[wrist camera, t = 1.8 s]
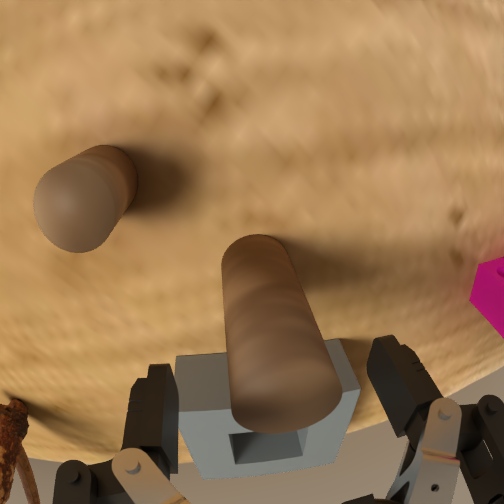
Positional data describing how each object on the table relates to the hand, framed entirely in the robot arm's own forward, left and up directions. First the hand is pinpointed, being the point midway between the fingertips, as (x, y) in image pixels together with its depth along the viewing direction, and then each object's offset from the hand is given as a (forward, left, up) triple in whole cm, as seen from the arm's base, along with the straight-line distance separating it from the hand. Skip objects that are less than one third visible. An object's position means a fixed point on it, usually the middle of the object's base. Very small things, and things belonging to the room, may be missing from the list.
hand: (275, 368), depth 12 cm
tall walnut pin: (0, 0, -8) cm, 8 cm away
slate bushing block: (0, +13, -8) cm, 16 cm away
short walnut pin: (+8, -6, -8) cm, 13 cm away
